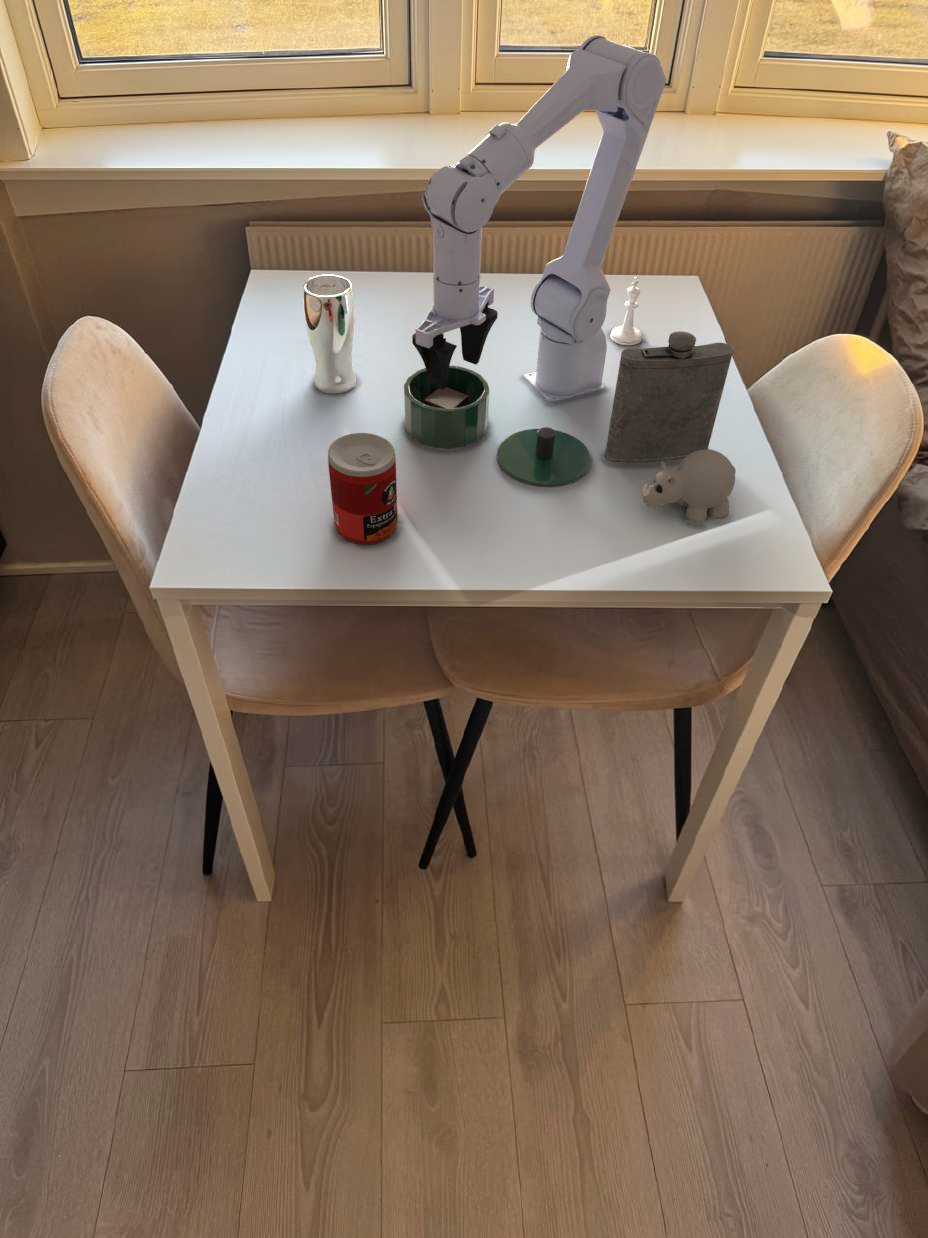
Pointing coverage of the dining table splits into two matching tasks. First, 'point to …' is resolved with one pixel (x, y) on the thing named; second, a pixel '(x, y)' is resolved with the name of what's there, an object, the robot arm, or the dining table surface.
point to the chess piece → (628, 320)
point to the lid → (543, 457)
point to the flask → (666, 400)
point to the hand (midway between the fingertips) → (454, 373)
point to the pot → (446, 410)
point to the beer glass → (330, 331)
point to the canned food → (363, 487)
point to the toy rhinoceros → (694, 485)
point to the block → (447, 399)
